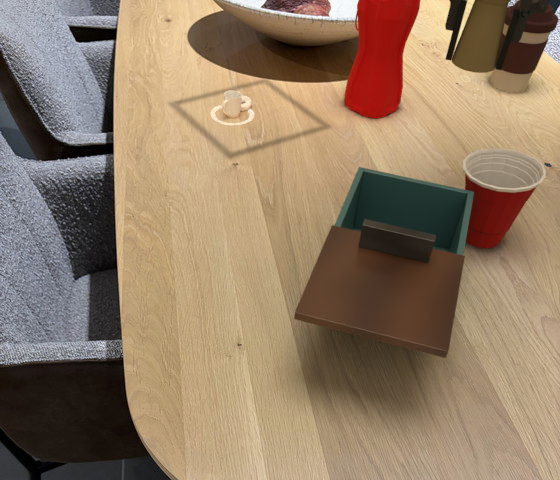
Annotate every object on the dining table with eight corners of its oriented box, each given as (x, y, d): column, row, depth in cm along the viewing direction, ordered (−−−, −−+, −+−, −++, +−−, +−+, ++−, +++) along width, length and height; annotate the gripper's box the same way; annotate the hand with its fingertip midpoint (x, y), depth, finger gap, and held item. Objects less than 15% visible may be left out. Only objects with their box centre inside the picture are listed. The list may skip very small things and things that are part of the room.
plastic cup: (448, 209, 94) (471, 136, 84) (518, 227, 91) (550, 155, 82) (434, 249, 87) (457, 175, 78) (509, 270, 85) (542, 196, 76)
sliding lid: (462, 262, 69) (472, 233, 66) (445, 358, 59) (457, 330, 56) (330, 231, 71) (335, 202, 68) (293, 319, 62) (296, 290, 58)
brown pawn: (442, 59, 82) (466, -34, 73) (469, 49, 85) (495, -42, 76) (477, 76, 79) (506, -19, 71) (504, 65, 82) (536, -28, 73)
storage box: (453, 252, 87) (474, 191, 79) (439, 324, 77) (461, 263, 69) (348, 227, 89) (358, 166, 81) (321, 295, 79) (331, 232, 72)
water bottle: (360, 88, 118) (384, -64, 99) (405, 110, 114) (439, -46, 95) (329, 102, 114) (348, -54, 95) (374, 125, 109) (403, -35, 90)
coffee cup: (538, 85, 124) (569, 4, 112) (522, 103, 118) (552, 19, 107) (493, 71, 127) (518, -9, 115) (475, 87, 121) (499, 5, 110)
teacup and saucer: (243, 101, 112) (243, 79, 109) (266, 120, 108) (267, 97, 105) (202, 112, 109) (201, 89, 106) (224, 132, 105) (224, 109, 102)
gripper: (632, -159, 65) (546, 63, 82) (456, -182, 68) (410, 37, 85) (635, -147, 60) (544, 86, 78) (446, -172, 63) (400, 58, 81)
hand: (474, 60), depth 82 cm, fingers closed on brown pawn, 6 cm apart
